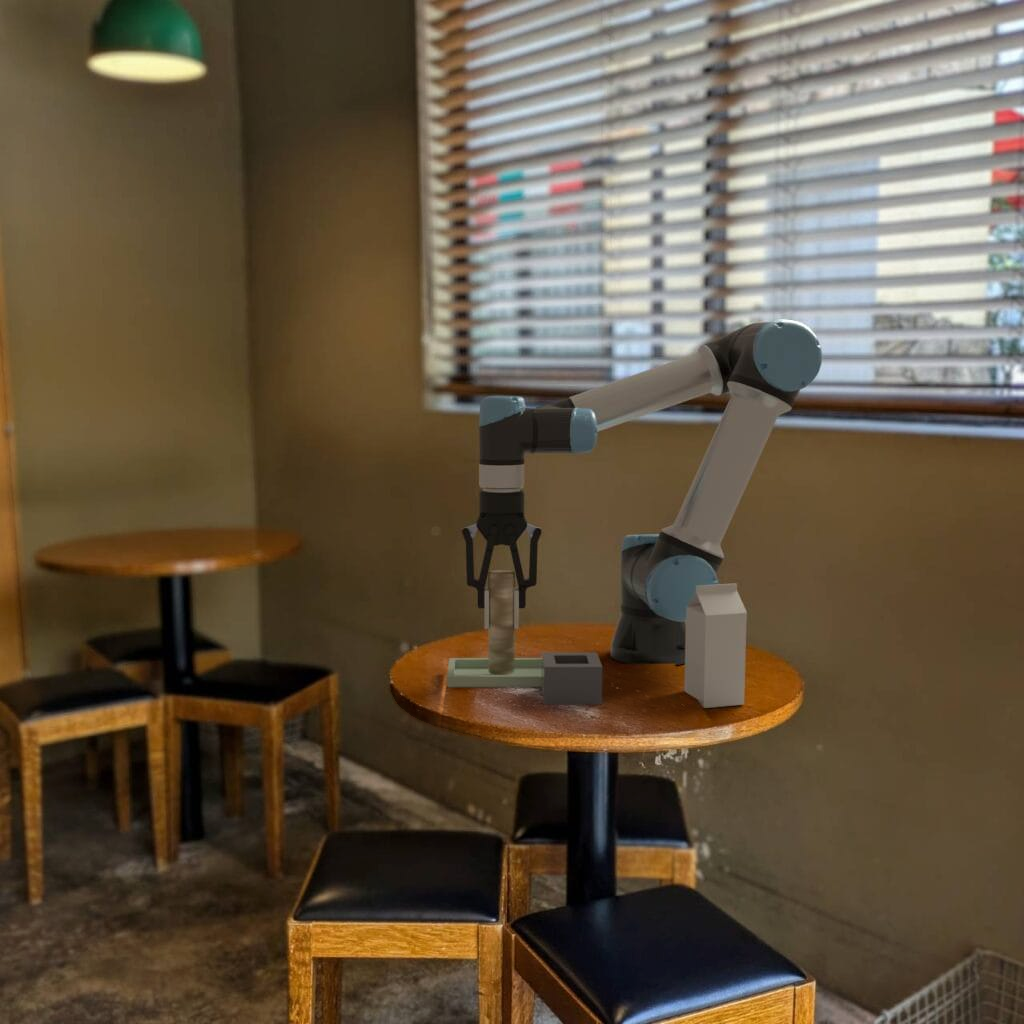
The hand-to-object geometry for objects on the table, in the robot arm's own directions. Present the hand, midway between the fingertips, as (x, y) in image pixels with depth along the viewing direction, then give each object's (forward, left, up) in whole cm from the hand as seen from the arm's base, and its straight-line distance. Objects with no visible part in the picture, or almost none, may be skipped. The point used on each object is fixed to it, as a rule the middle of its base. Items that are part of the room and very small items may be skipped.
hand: (501, 626), depth 186 cm
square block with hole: (-11, +12, -10) cm, 19 cm away
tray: (0, 0, -10) cm, 10 cm away
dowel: (0, 0, -8) cm, 8 cm away
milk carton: (-34, +11, -10) cm, 37 cm away
